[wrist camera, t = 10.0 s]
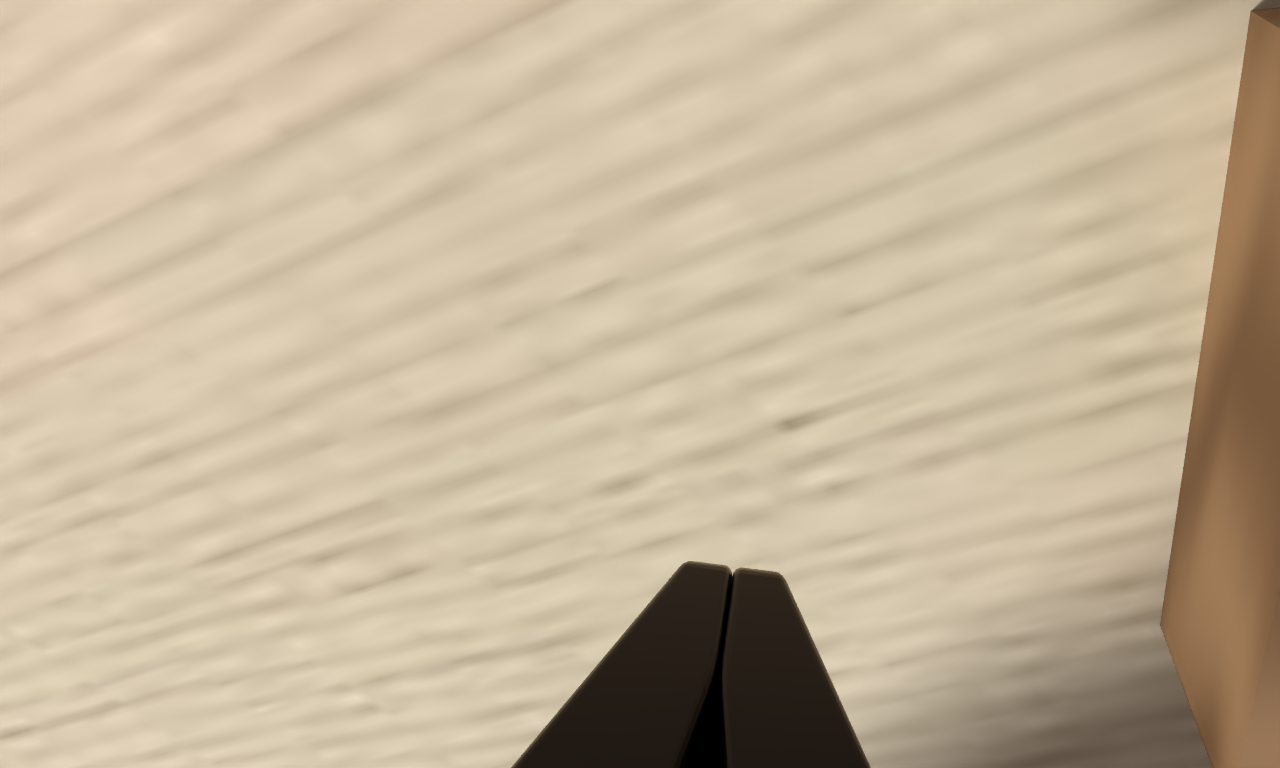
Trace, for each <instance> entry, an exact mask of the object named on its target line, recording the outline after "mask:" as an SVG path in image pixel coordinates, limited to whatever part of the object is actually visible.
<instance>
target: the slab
mask: <svg viewBox="0 0 1280 768" xmlns="http://www.w3.org/2000/svg"><path fill="white" fill-rule="evenodd" d="M1160 626H1161V629H1162V631H1163V634H1164V637H1165V640H1166V642H1167V645H1168V648H1169V650H1170V653H1171V656H1172V658H1173V661H1174V664H1175V667H1176V669H1177V672H1178V675H1179V677H1180V680H1181V683H1182V685H1183V688H1184V691H1185V694H1186V696H1187V699H1188V702H1189V704H1190V707H1191V710H1192V712H1193V715H1194V718H1195V721H1196V723H1197V726H1198V729H1199V731H1200V734H1201V737H1202V739H1203V742H1204V745H1205V748H1206V750H1207V753H1208V756H1209V758H1210V761H1211V764H1212V766H1213V768H1280V8H1272V9H1264V10H1255V11H1251V13H1250V20H1249V27H1248V34H1247V40H1246V47H1245V54H1244V61H1243V68H1242V74H1241V81H1240V88H1239V95H1238V101H1237V108H1236V115H1235V122H1234V129H1233V135H1232V142H1231V149H1230V156H1229V162H1228V169H1227V176H1226V183H1225V190H1224V196H1223V203H1222V210H1221V217H1220V223H1219V230H1218V237H1217V244H1216V251H1215V257H1214V264H1213V271H1212V278H1211V284H1210V291H1209V298H1208V305H1207V312H1206V318H1205V325H1204V332H1203V339H1202V345H1201V352H1200V359H1199V366H1198V372H1197V379H1196V386H1195V393H1194V400H1193V406H1192V413H1191V420H1190V427H1189V433H1188V440H1187V447H1186V454H1185V461H1184V467H1183V474H1182V481H1181V488H1180V494H1179V501H1178V508H1177V515H1176V522H1175V528H1174V535H1173V542H1172V549H1171V555H1170V562H1169V569H1168V576H1167V583H1166V589H1165V596H1164V603H1163V610H1162V616H1161V623H1160Z"/></svg>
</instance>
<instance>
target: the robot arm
mask: <svg viewBox="0 0 1280 768" xmlns="http://www.w3.org/2000/svg"><path fill="white" fill-rule="evenodd" d="M511 768H871V767H870V765H869V763H868V761H867V758H866V756H865V754H864V752H863V750H862V747H861V745H860V743H859V741H858V739H857V736H856V734H855V732H854V730H853V727H852V725H851V723H850V721H849V719H848V716H847V714H846V712H845V710H844V708H843V705H842V703H841V701H840V699H839V697H838V694H837V692H836V690H835V688H834V686H833V683H832V681H831V679H830V677H829V675H828V672H827V670H826V668H825V666H824V663H823V661H822V659H821V657H820V655H819V652H818V650H817V648H816V646H815V644H814V641H813V639H812V637H811V635H810V633H809V630H808V628H807V626H806V624H805V622H804V619H803V617H802V615H801V613H800V611H799V608H798V606H797V604H796V602H795V600H794V597H793V595H792V593H791V591H790V588H789V586H788V584H787V582H786V580H785V579H784V577H783V576H782V575H781V574H779V573H777V572H772V571H764V570H757V569H749V568H738V569H736V570H735V572H734V573H733V577H732V572H731V570H730V568H729V567H727V566H725V565H718V564H710V563H702V562H694V561H688V562H686V563H684V564H682V565H681V566H680V567H679V568H678V569H677V571H676V572H675V573H674V574H673V575H672V577H671V578H670V579H669V580H668V581H667V583H666V584H665V585H664V586H663V587H662V589H661V590H660V591H659V592H658V593H657V594H656V596H655V597H654V598H653V599H652V600H651V602H650V603H649V604H648V605H647V606H646V608H645V609H644V610H643V611H642V612H641V614H640V615H639V616H638V617H637V618H636V620H635V621H634V622H633V623H632V624H631V625H630V627H629V628H628V629H627V630H626V631H625V633H624V634H623V635H622V636H621V637H620V639H619V640H618V641H617V642H616V643H615V645H614V646H613V647H612V648H611V649H610V651H609V652H608V653H607V654H606V655H605V656H604V658H603V659H602V660H601V661H600V662H599V664H598V665H597V666H596V667H595V668H594V670H593V671H592V672H591V673H590V674H589V676H588V677H587V678H586V679H585V680H584V682H583V683H582V684H581V685H580V686H579V687H578V689H577V690H576V691H575V692H574V693H573V695H572V696H571V697H570V698H569V699H568V701H567V702H566V703H565V704H564V705H563V707H562V708H561V709H560V710H559V711H558V713H557V714H556V715H555V716H554V717H553V718H552V720H551V721H550V722H549V723H548V724H547V726H546V727H545V728H544V729H543V730H542V732H541V733H540V734H539V735H538V736H537V738H536V739H535V740H534V741H533V742H532V744H531V745H530V746H529V747H528V748H527V749H526V751H525V752H524V753H523V754H522V755H521V757H520V758H519V759H518V760H517V761H516V763H515V764H514V765H513V766H512V767H511Z"/></svg>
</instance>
